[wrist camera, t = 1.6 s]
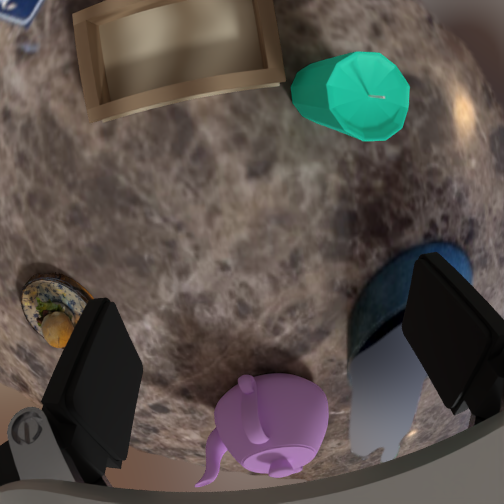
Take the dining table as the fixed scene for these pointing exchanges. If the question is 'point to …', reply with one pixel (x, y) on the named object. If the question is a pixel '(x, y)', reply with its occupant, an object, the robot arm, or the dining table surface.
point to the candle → (353, 95)
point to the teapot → (268, 425)
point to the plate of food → (54, 306)
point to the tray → (173, 52)
